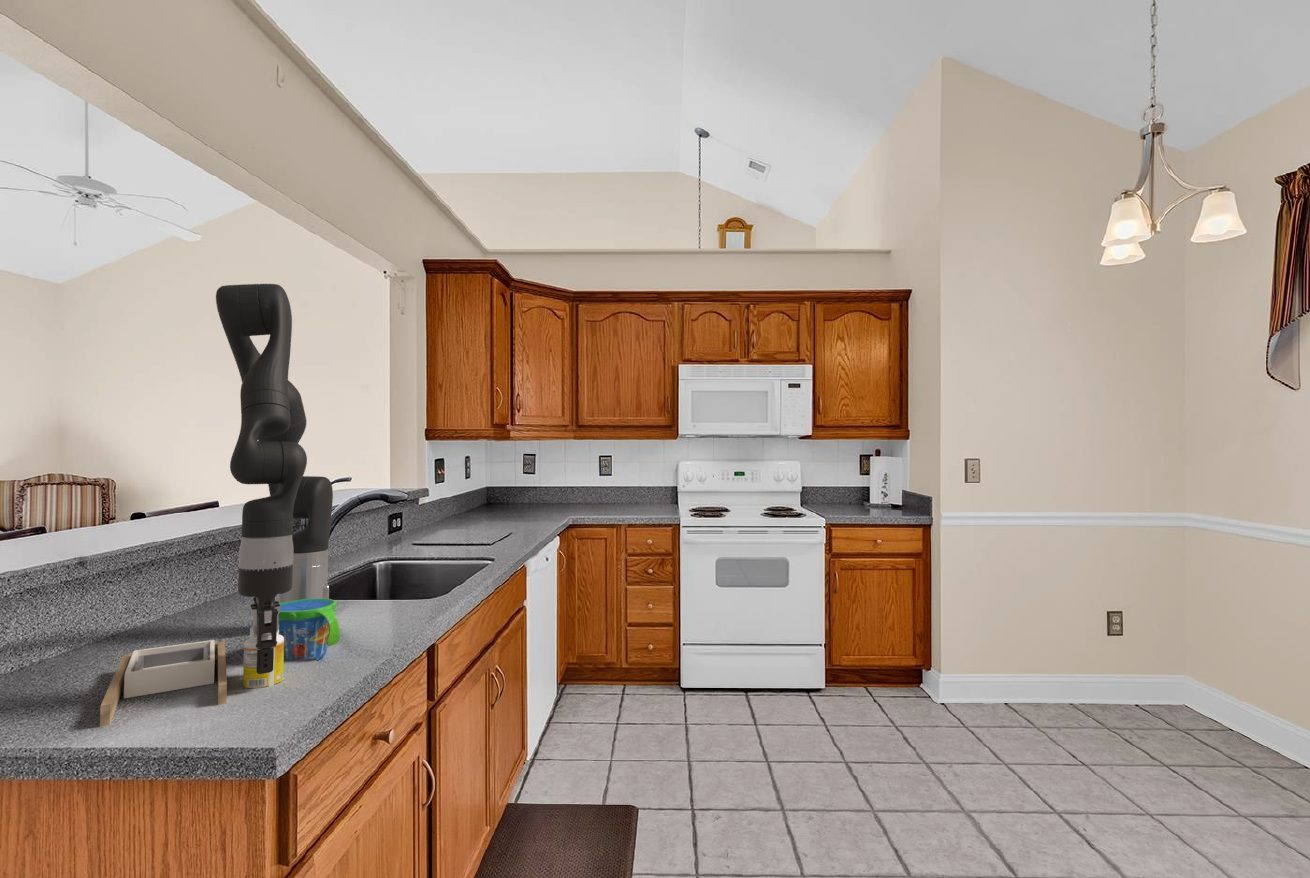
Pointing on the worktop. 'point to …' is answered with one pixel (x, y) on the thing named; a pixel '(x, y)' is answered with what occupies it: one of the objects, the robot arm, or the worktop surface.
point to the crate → (170, 668)
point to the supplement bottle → (250, 663)
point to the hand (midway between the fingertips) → (263, 665)
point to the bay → (118, 679)
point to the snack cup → (308, 627)
